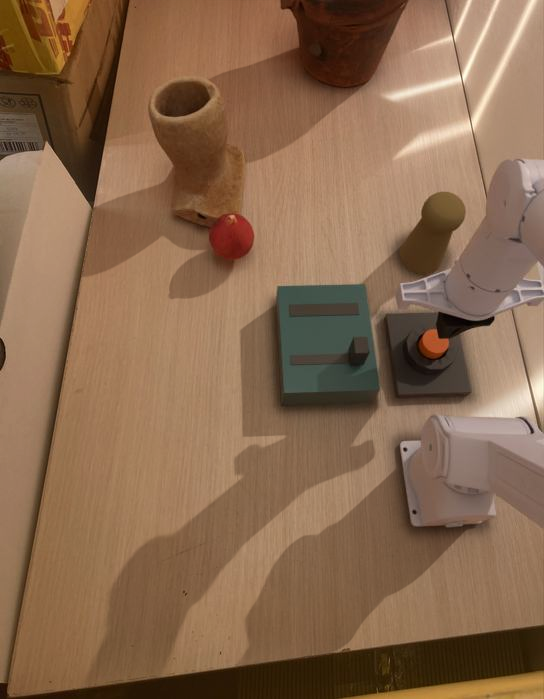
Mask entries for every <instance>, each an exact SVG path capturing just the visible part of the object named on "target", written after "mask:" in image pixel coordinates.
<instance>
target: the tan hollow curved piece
mask: <svg viewBox="0 0 544 699" xmlns="http://www.w3.org/2000/svg"><path fill="white" fill-rule="evenodd" d="M225 106H226V105H225V102H224V98H223V95H222V94H221V91H220V90H219V88H218V87H217V85H216V84H215V83H214V82H212V81H211V80H210V79H208V78H205V77H202V76H199V75H183V76H177V77H174V78H170V79H169V80H167V81H165V82H164V83H162V84H160V85H159V86H157V87H156V89H154V91H153V92H152V93H151V95H150V98H149V101H148V105H147V111H148V117H149V121H150V123H151V128H152V130H153V133H154V137H155V138H156V141H157V142H158V144H159V146H160V147H161V149H162V151H163V152H164V153H165V155H166V156H167V157H168V159H169V161H170V162H171V164H172V165H173V167H174V169H175V172H174V173H175V174H174V178H173V179H174V181H173V186H172V187H173V188H172V200H171V204H170V211H171V213H172V214H174V215H175V216H179V217H181V218H182V219H184V220H186V221H189V222H192V223H194V224H197V225H200V226H204V227H208V228H211V226H212V224H213V223H214V222H215V220H216V219H217V218H218V217H220V216H222V215H223V214H227V213H235V214H239V215H241V210H242V204H243V194H244V193H243V192H244V186H245V175H246V158H245V154H244V151H243V150H242V149H241V148H239V147H238V146H234V145H230V144H227V141H228V135H229V134H228V132H229V122H228V117H227V116H228V115H227V111H226V110H227V109H226V107H225Z"/></svg>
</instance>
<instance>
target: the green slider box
mask: <svg viewBox="0 0 544 699" xmlns="http://www.w3.org/2000/svg"><path fill="white" fill-rule="evenodd" d="M275 298H276V299H275V314H276V331H277V347H278V348H277V349H278V365H279V384H280V400H281V406H284V407H285V406H286V407H287V406H313V405H340V404H341V405H342V404H343V405H344V404H370V403H373V402H374V400H375V399H376V397H377V396H378V394H379V392H380V391H381V386H380V378H379V370H378V364H377V357H376V350H375V342H374V334H373V328H372V319H371V314H370V305H369V298H368V290H367V284H366V283H357V284H355V283H353V284H352V283H351V284H318V285H317V284H309V285H307V284H306V285H304V284H303V285H277V286H276V296H275ZM353 337H368V345H369V352H370V353H369V355H368V357H367V359H366V361H365V363H364V365H350V362H349V353H348V349H349V347H350V344H351V342H352V339H353Z"/></svg>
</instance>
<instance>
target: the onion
mask: <svg viewBox="0 0 544 699" xmlns="http://www.w3.org/2000/svg"><path fill="white" fill-rule="evenodd" d="M208 240H209V243H210V246H211V248H212V250H213V251H214V252H215V253H216V254H217V256H219V257H221V258H223V259H225V260H228V261H237V260H241V259H242V258H243V257H246V256H247V255H248V254H249V252H250V251H251V250H252V249H253V246H254V241H255V232H254V229H253V226H252V224H251V223H250V221H248V219H246V217H244V215H242V214H240V215H239V214H235V213H227V214H223V215H222V216H220V217H218V218H217V219H216V220H215V222H214V223H213V224H212V226H211V227H209V236H208Z"/></svg>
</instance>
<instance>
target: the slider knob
mask: <svg viewBox="0 0 544 699" xmlns="http://www.w3.org/2000/svg"><path fill="white" fill-rule="evenodd" d="M348 353H349V362H350V365H364V363H365V361H366V359H367V357H368V355H369V353H370V352H369V345H368V337H353V339H352V342H351V344H350V347H349V349H348Z"/></svg>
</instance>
